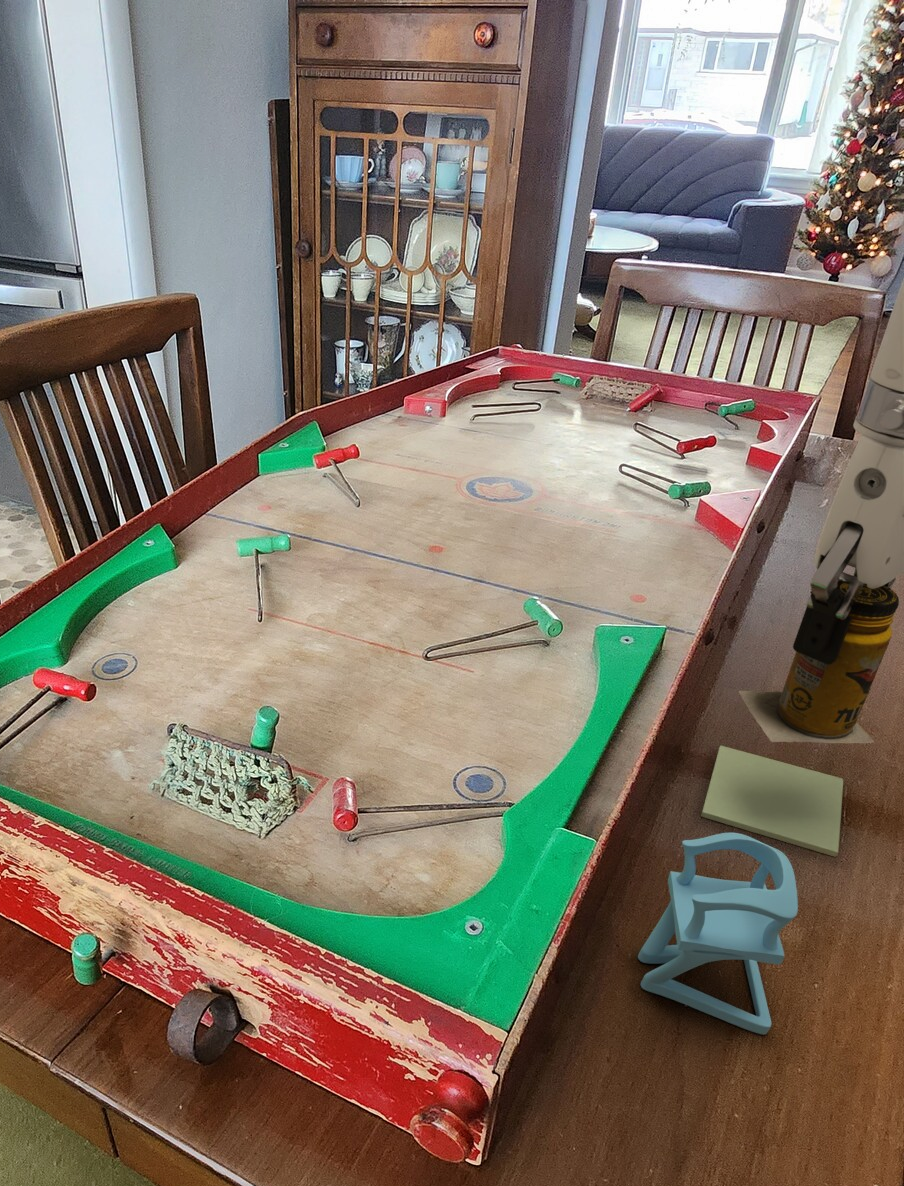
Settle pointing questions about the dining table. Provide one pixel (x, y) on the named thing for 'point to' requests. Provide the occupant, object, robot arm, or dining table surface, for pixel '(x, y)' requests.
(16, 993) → the dining table surface
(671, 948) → the chair
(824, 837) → the mat
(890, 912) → the dining table surface
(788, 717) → the condiment
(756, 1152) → the dining table surface
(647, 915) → the dining table surface
